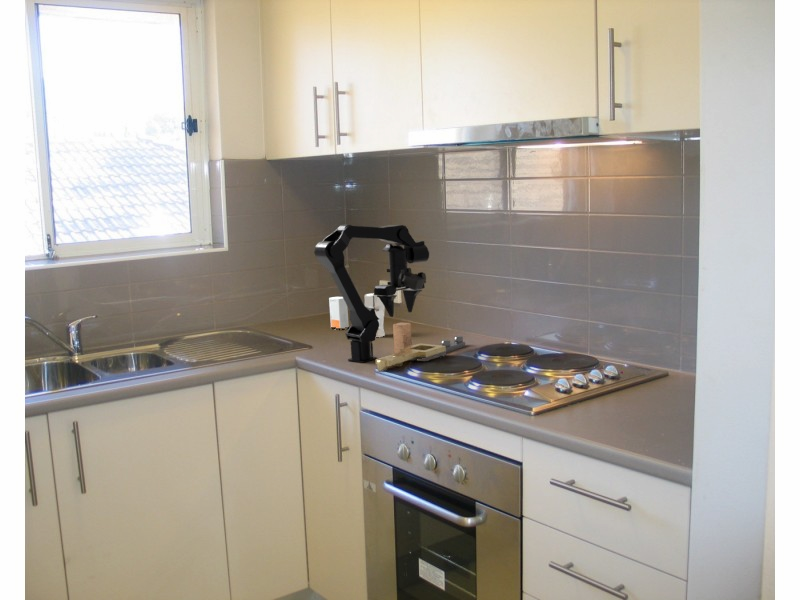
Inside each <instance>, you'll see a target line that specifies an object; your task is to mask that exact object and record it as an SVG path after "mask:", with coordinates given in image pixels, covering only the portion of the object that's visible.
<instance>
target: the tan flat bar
mask: <svg viewBox="0 0 800 600" xmlns="http://www.w3.org/2000/svg"><path fill="white" fill-rule="evenodd" d="M453 339H454V340H450V339H442V340H441V343H440V344H430V343H429V344H428V343H421V342H420V343H417V344H413V345H412V346H409V347H406V348H403V349H399V350H400V352H398V353H393V354H389V355H386V356H382V357H378V358H376V359H374V360H375V365H376V366H377V372H380V371H382V370H387V369H388V367H390V366H393V367H396V366H398V367H402V365H404V362H406V361H412V362H413V361H414V360H417V359H422V358H429V357H434V356H443V355H446V356H447V353H449V352H452V351H455V350H458V349H462V348H465V347H466V341H464V336H463V335H455V336H454V337H453ZM443 357H444V356H443ZM414 362H415V361H414ZM387 371H388V370H387Z"/></svg>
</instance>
